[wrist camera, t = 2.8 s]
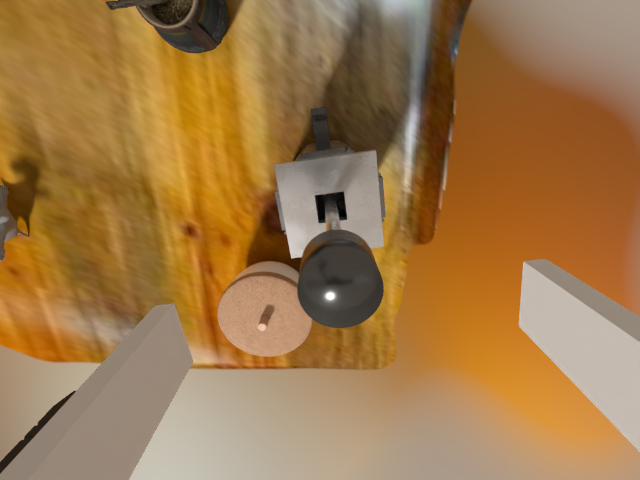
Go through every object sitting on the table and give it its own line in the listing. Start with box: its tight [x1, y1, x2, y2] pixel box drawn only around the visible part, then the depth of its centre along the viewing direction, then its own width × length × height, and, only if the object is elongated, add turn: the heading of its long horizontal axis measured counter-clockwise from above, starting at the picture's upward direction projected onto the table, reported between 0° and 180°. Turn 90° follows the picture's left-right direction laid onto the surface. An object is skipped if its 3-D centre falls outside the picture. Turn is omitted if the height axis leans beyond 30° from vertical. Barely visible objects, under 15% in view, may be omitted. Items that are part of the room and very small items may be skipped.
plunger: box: [297, 191, 383, 328], centre depth 22 cm, size 6×6×18 cm
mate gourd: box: [106, 0, 229, 53], centre depth 29 cm, size 7×8×10 cm
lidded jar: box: [217, 261, 313, 356], centre depth 39 cm, size 11×11×9 cm
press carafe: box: [274, 107, 385, 258], centre depth 32 cm, size 12×9×13 cm
